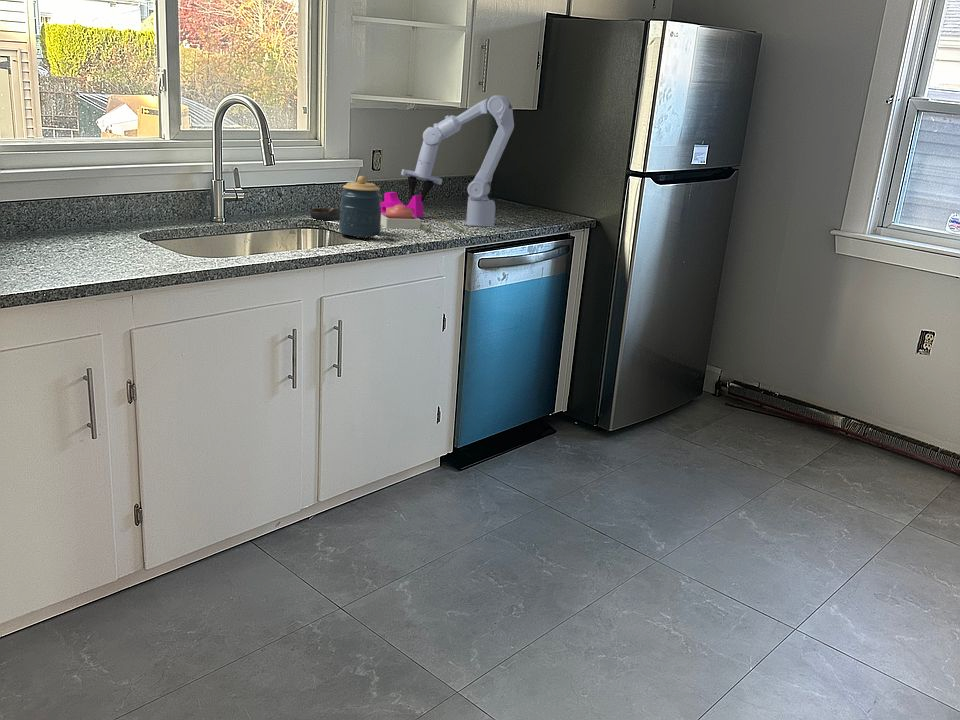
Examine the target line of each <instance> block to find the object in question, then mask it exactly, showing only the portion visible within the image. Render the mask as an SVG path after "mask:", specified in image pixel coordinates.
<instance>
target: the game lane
mask: <svg viewBox="0 0 960 720" xmlns="http://www.w3.org/2000/svg"><path fill="white" fill-rule="evenodd" d="M433 218H434V219H436V220H438V221H439V222H442V223H443V224H444V225H446V226H448V227H450V228H452V229H453V230H455V231H457V232H458V233H465V230H464V229H463V228H460V227H458V226H457V225H455V224H453V223H450V222H448V221H446V220H444V219H443V218H440V217H438V216H437V215H433ZM420 229H421V230H422V231H424V232H425V233H426V232H427V233H431V232H432V229H431V228H429V227H427V226H426V225H424V224H422V223H421V227H420Z"/></svg>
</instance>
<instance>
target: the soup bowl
mask: <svg viewBox="0 0 960 720" xmlns="http://www.w3.org/2000/svg"><path fill="white" fill-rule="evenodd" d="M309 214H310V215H309V216H310V218H311V219H312V218H313V219H316V220H321V221H322V220H323V221H339V220H340V208H339V209H337V208H334V207H330V208H328V207H326V208H325V207H324V208H323V207H318V208H317V207H315V208H311V209H309ZM307 226H315V225H314V224H308V225H307Z"/></svg>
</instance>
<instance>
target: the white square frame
mask: <svg viewBox="0 0 960 720" xmlns="http://www.w3.org/2000/svg"><path fill="white" fill-rule="evenodd" d="M421 220H422V218H421V219H420V217H418V218H417V217H415V216H413V219H390V218H387V217H386V214H381V226H382V227H384V228H386V229H415V230H418V229H421V228H420V227H421V224H422V221H421Z"/></svg>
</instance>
